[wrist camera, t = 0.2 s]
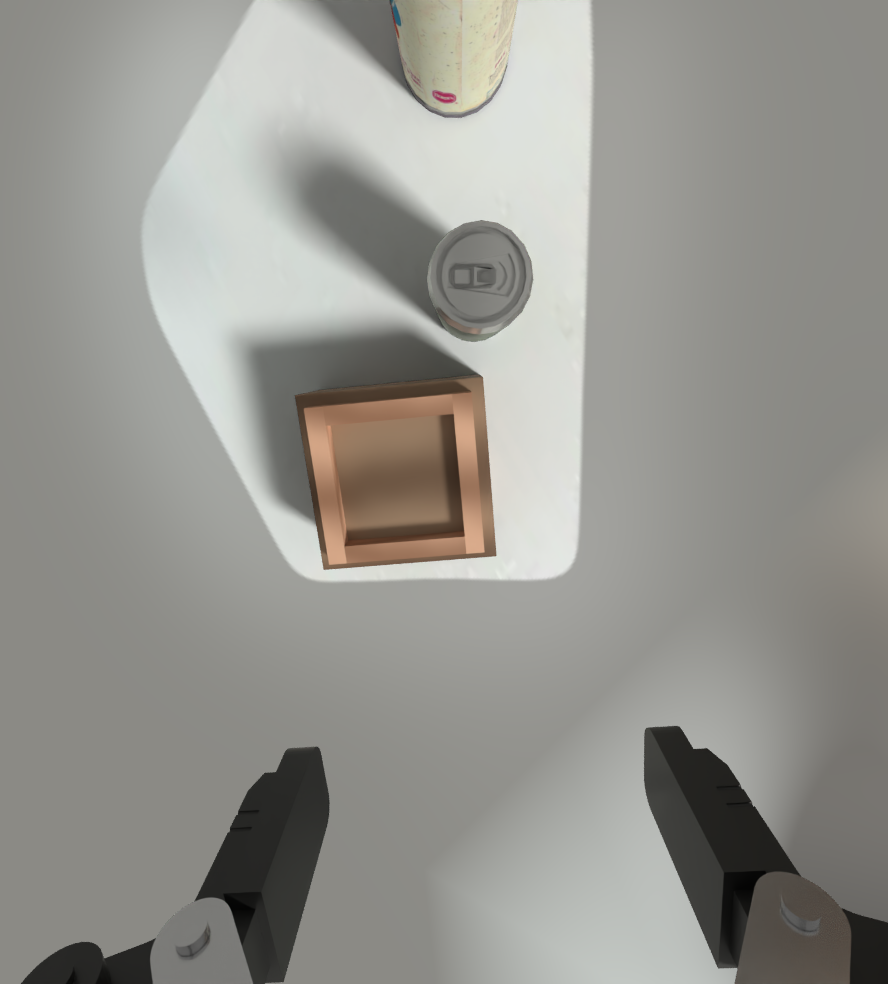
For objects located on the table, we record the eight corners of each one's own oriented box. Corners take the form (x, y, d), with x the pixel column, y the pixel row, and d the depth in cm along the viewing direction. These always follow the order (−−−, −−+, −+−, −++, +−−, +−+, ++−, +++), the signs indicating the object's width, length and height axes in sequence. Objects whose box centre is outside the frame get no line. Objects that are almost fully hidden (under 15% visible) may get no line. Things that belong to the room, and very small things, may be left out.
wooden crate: (319, 390, 38) (288, 396, 31) (479, 374, 38) (483, 377, 31) (342, 540, 41) (319, 576, 34) (490, 528, 41) (497, 562, 34)
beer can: (436, 342, 37) (426, 333, 26) (435, 262, 36) (424, 215, 24) (510, 342, 37) (533, 333, 25) (512, 262, 36) (538, 214, 24)
